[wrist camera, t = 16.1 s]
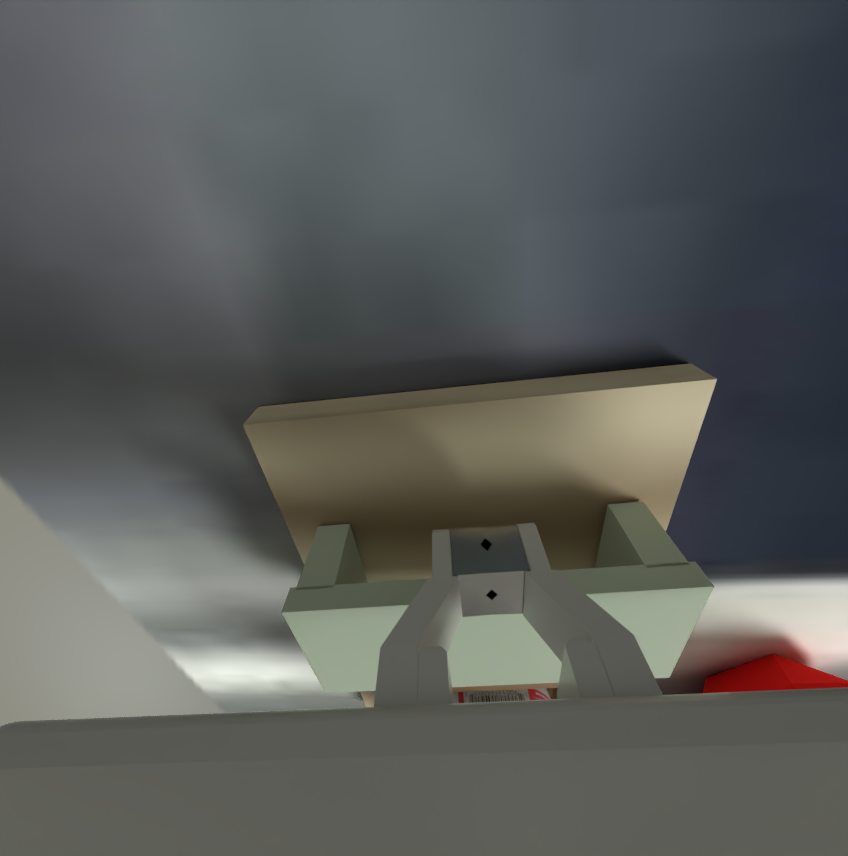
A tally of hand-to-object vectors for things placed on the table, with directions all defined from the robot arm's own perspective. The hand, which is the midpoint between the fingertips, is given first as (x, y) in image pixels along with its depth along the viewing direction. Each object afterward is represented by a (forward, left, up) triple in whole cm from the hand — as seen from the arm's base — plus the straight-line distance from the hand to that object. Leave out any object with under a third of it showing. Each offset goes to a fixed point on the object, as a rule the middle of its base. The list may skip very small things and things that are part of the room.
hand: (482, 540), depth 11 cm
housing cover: (+3, 0, -2) cm, 4 cm away
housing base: (+7, 0, -3) cm, 8 cm away
